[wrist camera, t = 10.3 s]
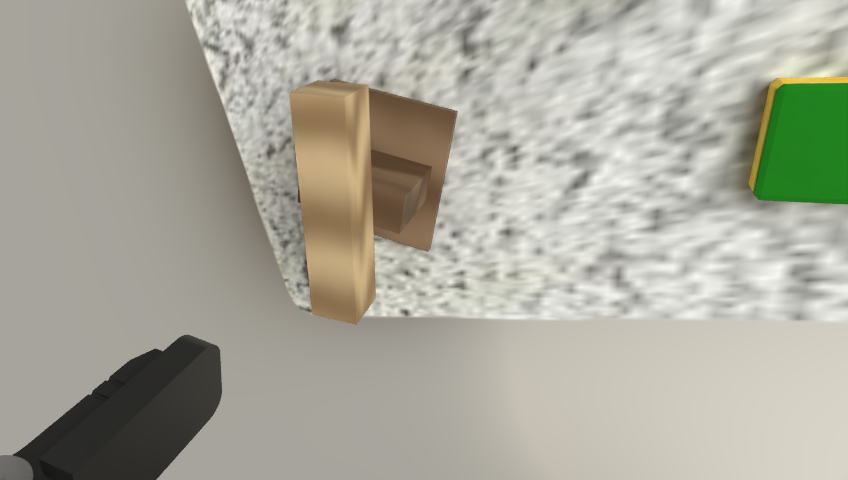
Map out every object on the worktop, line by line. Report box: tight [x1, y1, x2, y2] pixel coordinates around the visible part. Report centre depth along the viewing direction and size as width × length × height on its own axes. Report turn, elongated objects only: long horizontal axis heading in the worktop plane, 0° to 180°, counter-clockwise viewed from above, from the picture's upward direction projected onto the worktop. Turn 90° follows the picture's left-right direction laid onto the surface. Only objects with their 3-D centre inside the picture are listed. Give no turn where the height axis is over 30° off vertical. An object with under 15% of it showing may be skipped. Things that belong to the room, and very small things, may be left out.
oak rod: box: [289, 81, 376, 324], centre depth 36 cm, size 16×4×4 cm, turn 179°
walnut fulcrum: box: [298, 79, 458, 252], centre depth 40 cm, size 12×10×7 cm
